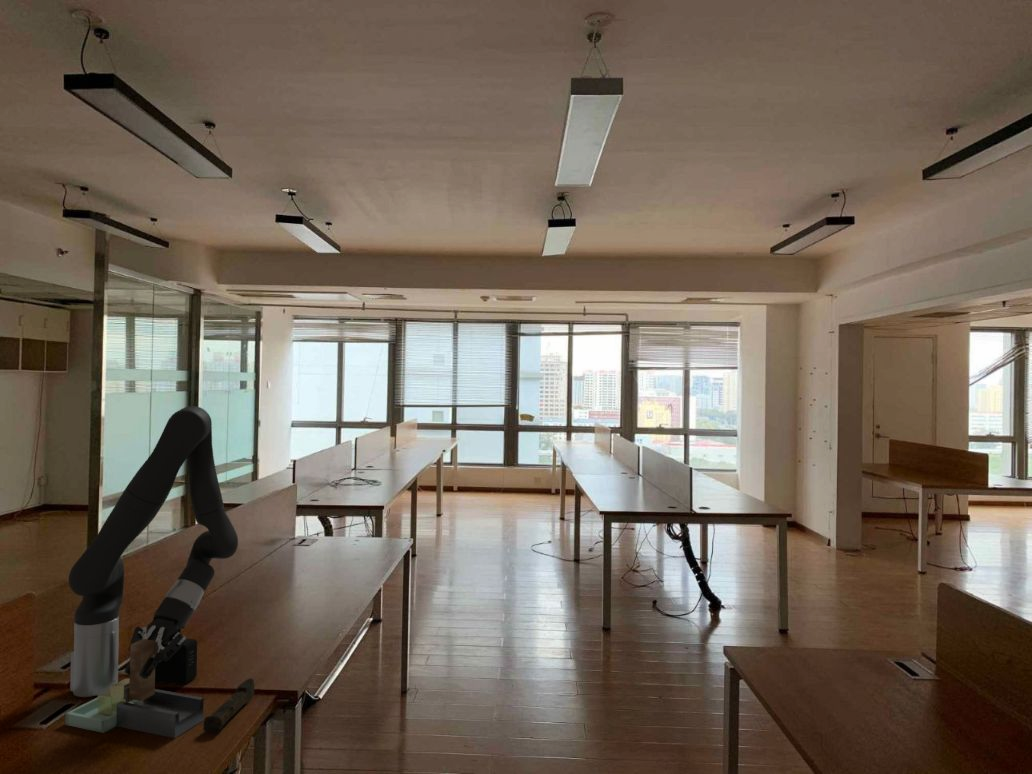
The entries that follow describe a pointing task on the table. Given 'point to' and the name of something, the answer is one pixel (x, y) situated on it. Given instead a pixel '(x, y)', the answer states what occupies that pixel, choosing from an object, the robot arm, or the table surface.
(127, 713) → the slot rail
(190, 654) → the electronic device
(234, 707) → the hand tool
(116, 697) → the pale yellow cube
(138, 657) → the tan wooden block
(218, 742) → the table surface
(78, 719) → the tray
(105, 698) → the tan cube
